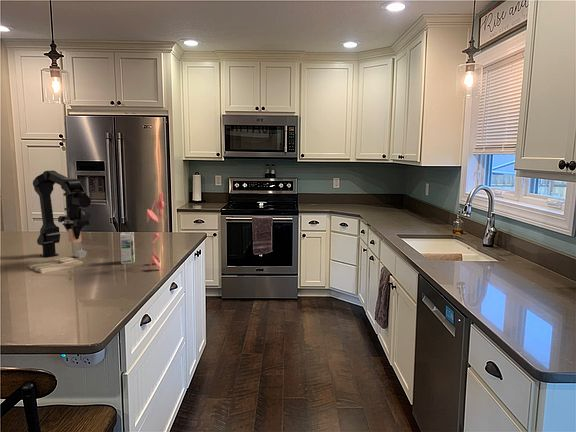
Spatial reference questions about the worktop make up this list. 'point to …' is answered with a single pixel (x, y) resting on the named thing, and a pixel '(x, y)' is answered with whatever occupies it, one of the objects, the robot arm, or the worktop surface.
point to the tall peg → (73, 237)
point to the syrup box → (127, 248)
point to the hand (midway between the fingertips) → (74, 238)
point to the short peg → (80, 253)
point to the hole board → (51, 264)
